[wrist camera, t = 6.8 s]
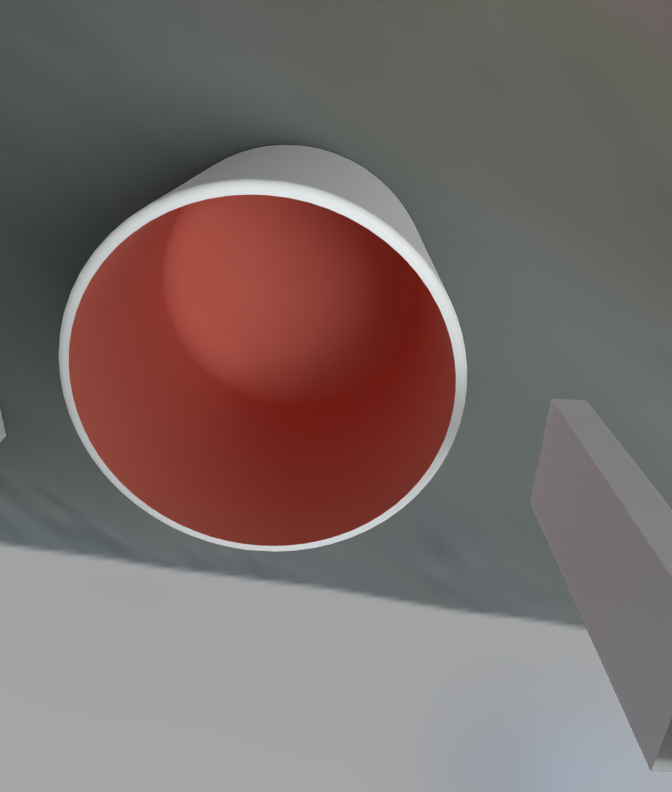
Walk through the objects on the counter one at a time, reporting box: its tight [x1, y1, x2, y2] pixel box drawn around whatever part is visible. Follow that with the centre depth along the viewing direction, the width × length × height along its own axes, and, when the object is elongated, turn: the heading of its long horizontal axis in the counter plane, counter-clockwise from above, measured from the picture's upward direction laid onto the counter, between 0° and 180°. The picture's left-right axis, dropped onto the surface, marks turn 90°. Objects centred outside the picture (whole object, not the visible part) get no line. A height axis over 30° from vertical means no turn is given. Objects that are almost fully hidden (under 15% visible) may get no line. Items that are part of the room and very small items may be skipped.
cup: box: [59, 145, 467, 551], centre depth 20 cm, size 10×10×10 cm
